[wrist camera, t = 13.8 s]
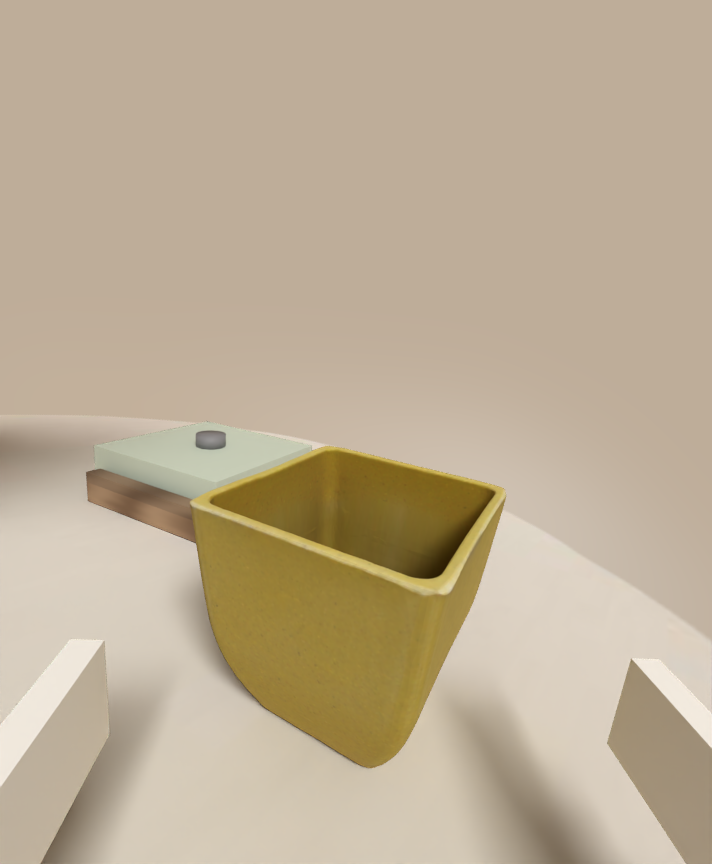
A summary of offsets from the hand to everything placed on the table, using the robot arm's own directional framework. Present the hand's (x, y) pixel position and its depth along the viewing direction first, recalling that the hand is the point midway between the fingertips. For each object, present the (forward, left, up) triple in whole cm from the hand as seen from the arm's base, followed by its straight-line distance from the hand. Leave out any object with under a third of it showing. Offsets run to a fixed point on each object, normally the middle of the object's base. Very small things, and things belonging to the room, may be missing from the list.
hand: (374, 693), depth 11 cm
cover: (-23, +18, -4) cm, 30 cm away
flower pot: (-3, +5, -6) cm, 8 cm away
